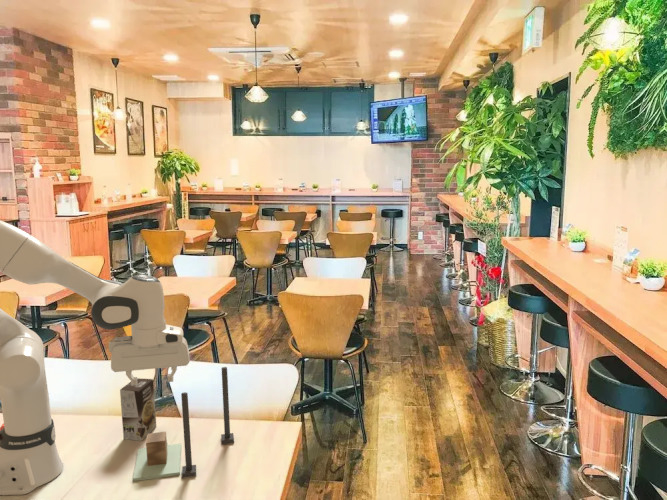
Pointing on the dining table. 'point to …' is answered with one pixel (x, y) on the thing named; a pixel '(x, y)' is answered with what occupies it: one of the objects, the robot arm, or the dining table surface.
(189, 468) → the front cord post
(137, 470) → the board
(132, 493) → the dining table surface
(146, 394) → the coffee box
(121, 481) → the dining table surface
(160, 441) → the walnut block
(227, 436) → the post
